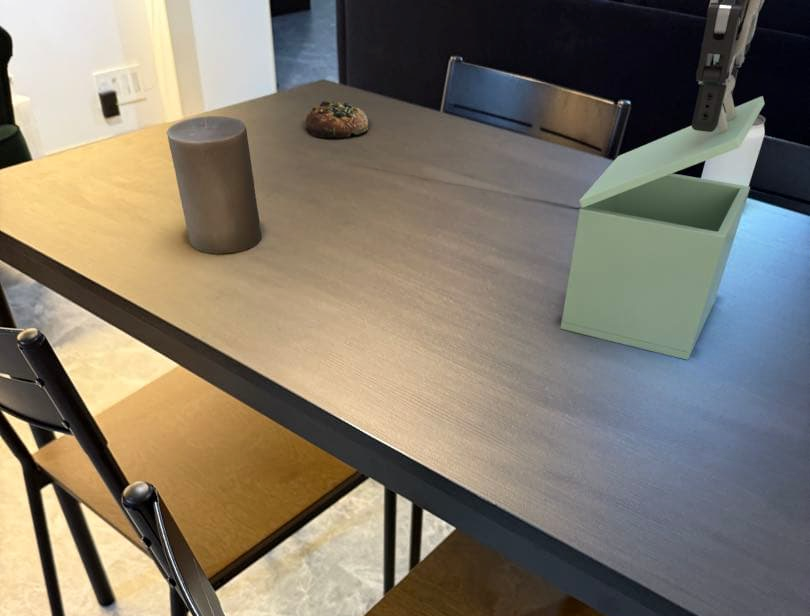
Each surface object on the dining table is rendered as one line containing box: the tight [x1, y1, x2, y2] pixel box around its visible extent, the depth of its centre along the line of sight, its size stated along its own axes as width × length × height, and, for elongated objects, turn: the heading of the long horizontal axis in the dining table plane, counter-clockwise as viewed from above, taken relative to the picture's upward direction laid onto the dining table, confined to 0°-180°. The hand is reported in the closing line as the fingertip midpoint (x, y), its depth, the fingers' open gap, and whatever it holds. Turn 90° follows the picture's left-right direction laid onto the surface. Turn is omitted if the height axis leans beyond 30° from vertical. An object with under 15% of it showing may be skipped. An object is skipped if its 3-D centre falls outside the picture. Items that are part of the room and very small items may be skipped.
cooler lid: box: [578, 74, 765, 208], centre depth 75 cm, size 15×14×5 cm
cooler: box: [560, 173, 751, 361], centre depth 83 cm, size 14×14×13 cm
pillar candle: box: [166, 115, 263, 255], centre depth 97 cm, size 10×10×15 cm
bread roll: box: [305, 100, 369, 139], centre depth 132 cm, size 11×11×5 cm
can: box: [700, 113, 766, 187], centre depth 105 cm, size 6×6×12 cm
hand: (709, 119), depth 72 cm, fingers closed on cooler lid, 5 cm apart
